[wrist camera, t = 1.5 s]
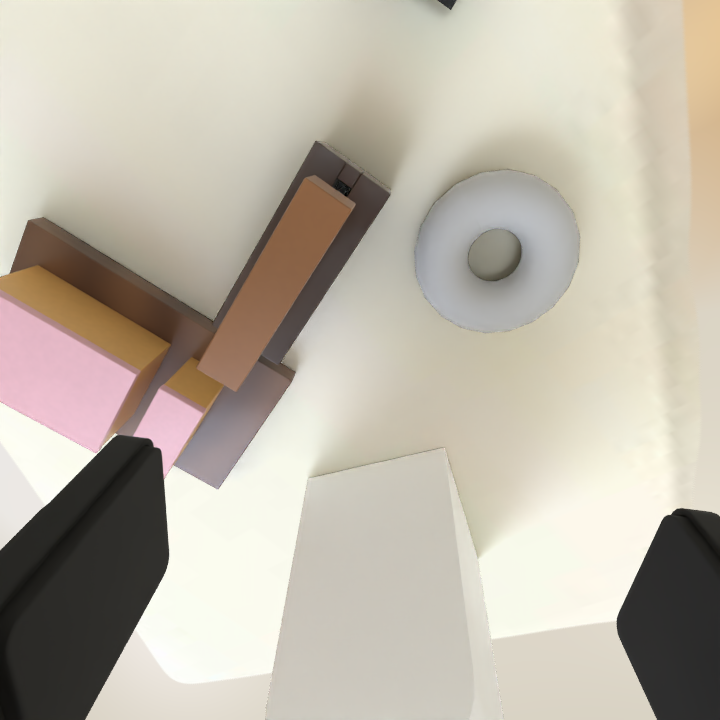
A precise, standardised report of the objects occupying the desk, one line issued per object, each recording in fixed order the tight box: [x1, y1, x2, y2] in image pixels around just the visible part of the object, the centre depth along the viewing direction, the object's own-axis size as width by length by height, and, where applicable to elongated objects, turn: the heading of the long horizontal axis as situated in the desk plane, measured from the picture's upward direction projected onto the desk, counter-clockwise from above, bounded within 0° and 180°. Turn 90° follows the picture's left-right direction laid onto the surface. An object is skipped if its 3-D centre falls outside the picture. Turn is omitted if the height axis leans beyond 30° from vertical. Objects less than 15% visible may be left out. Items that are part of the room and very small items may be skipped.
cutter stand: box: [212, 141, 391, 365], centre depth 31 cm, size 5×13×4 cm, turn 146°
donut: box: [414, 169, 580, 333], centre depth 30 cm, size 10×4×10 cm
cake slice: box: [133, 357, 224, 479], centre depth 33 cm, size 3×7×5 cm, turn 146°
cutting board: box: [10, 217, 295, 489], centre depth 36 cm, size 20×12×2 cm, turn 56°
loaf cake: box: [0, 265, 171, 453], centre depth 32 cm, size 10×7×5 cm
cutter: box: [196, 175, 356, 392], centre depth 27 cm, size 2×11×10 cm, turn 146°
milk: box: [265, 447, 504, 720], centre depth 29 cm, size 12×12×26 cm
